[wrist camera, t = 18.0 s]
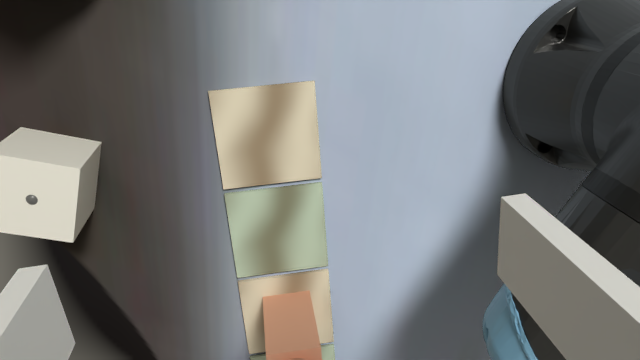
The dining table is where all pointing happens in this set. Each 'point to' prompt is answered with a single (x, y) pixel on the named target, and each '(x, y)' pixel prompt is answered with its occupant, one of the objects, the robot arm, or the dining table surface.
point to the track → (274, 199)
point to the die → (47, 184)
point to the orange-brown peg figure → (290, 327)
